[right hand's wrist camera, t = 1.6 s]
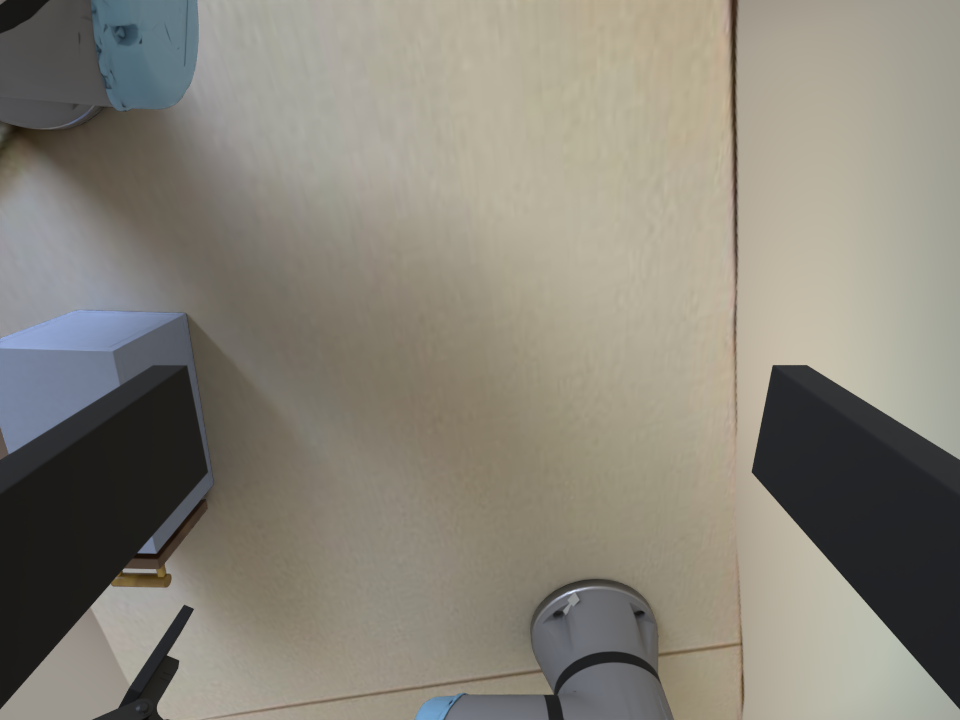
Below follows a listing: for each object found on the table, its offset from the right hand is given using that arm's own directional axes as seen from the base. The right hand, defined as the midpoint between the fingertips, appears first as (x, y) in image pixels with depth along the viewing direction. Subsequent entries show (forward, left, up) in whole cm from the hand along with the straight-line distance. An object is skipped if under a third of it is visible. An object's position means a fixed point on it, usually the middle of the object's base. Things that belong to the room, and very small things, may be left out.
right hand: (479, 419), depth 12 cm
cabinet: (-18, +35, -41) cm, 56 cm away
